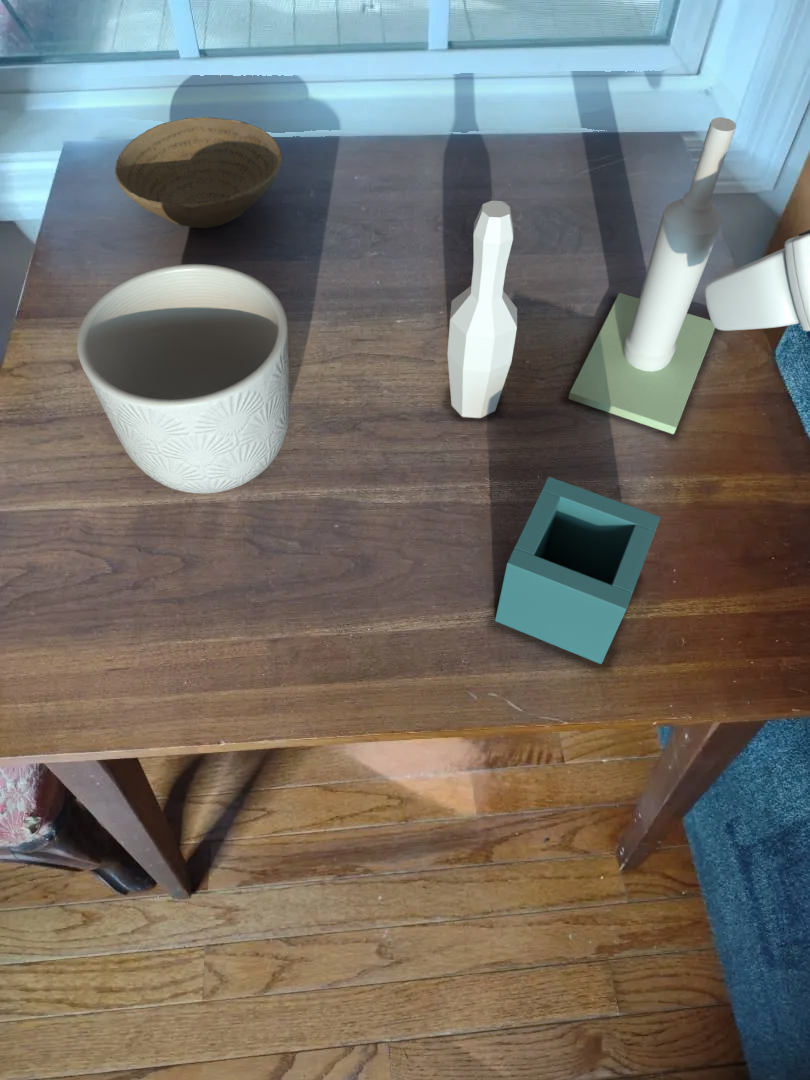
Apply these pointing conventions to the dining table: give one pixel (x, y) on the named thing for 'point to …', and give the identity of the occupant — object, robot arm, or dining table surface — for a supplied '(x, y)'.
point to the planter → (191, 373)
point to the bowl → (199, 169)
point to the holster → (585, 546)
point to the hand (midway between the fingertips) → (761, 281)
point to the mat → (641, 371)
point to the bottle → (678, 258)
